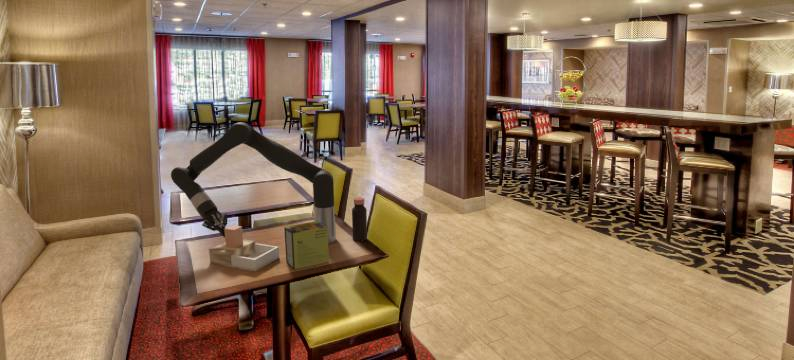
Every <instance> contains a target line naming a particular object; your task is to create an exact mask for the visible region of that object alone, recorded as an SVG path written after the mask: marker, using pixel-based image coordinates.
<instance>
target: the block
mask: <svg viewBox="0 0 794 360" xmlns="http://www.w3.org/2000/svg"><path fill="white" fill-rule="evenodd" d="M224 230H225V237H224V238H225V240H224V241H225V242H226V247H231V248H237V247H239V246H241V245H243V239H244V235H243V226H241V225H234V224H231V225H230V226H226V227H225V229H224ZM225 242H224V243H225Z"/></svg>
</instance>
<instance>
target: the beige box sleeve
mask: <svg viewBox="0 0 794 360" xmlns="http://www.w3.org/2000/svg"><path fill="white" fill-rule="evenodd" d="M255 243H256V240H251V239H246V238H243V245H241V246H239V247H237V248H231V247H226V242H223V243H221V244H219V245H217V246H214V247H212V248H210V249H208V253H209V254H208V255H209V262H210V264H212V265H219V266H223V267H228V268H229V267H230V268H233V267H232V265H231V255H236V256H242V257H248V256H250V255H252V254H254V253H255V245H254V244H255Z"/></svg>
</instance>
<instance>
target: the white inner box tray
mask: <svg viewBox="0 0 794 360" xmlns="http://www.w3.org/2000/svg"><path fill="white" fill-rule="evenodd" d="M254 245H255V253H254V254H252V255H250V256H248V257H242V256H236V255H231V265H232V267H231V268H233V269H234V268H235V269H240V270H245V271H251V272H258V271H259V270H261V269H263V268H264V267H266V266H269V264H271V263H273V262H275V261H276V260H279V259H280V247H279V246H275V245H270V244H264V243H258V242H255V244H254Z"/></svg>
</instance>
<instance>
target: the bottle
mask: <svg viewBox="0 0 794 360" xmlns="http://www.w3.org/2000/svg"><path fill="white" fill-rule="evenodd" d="M367 213H368V211H367V208H366V207H365V198H364V197H361V196H360V197H355V198H353V207H352V209H351V219H352V220H351V225H352V227H351V228H352V229H351V230H352V240H353V241H354V240H355V241H354V242H357V241H362V240H366V241H367V240H368V231H367V230H368V220H367V219H368V218H367V215H368V214H367ZM362 242H363V241H362Z"/></svg>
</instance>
